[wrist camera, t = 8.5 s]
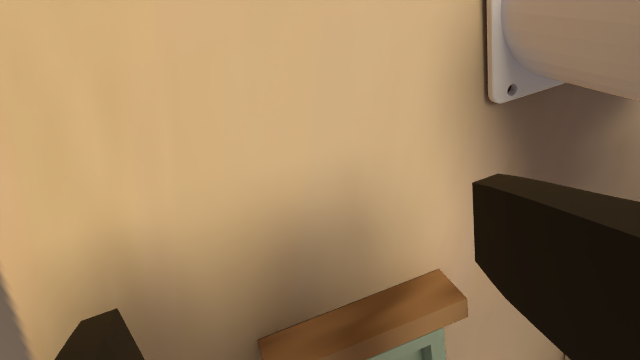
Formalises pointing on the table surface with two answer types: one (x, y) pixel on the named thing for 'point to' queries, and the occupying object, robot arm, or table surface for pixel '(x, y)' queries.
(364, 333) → the rail
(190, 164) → the table surface
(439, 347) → the tray
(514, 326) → the table surface
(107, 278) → the table surface
